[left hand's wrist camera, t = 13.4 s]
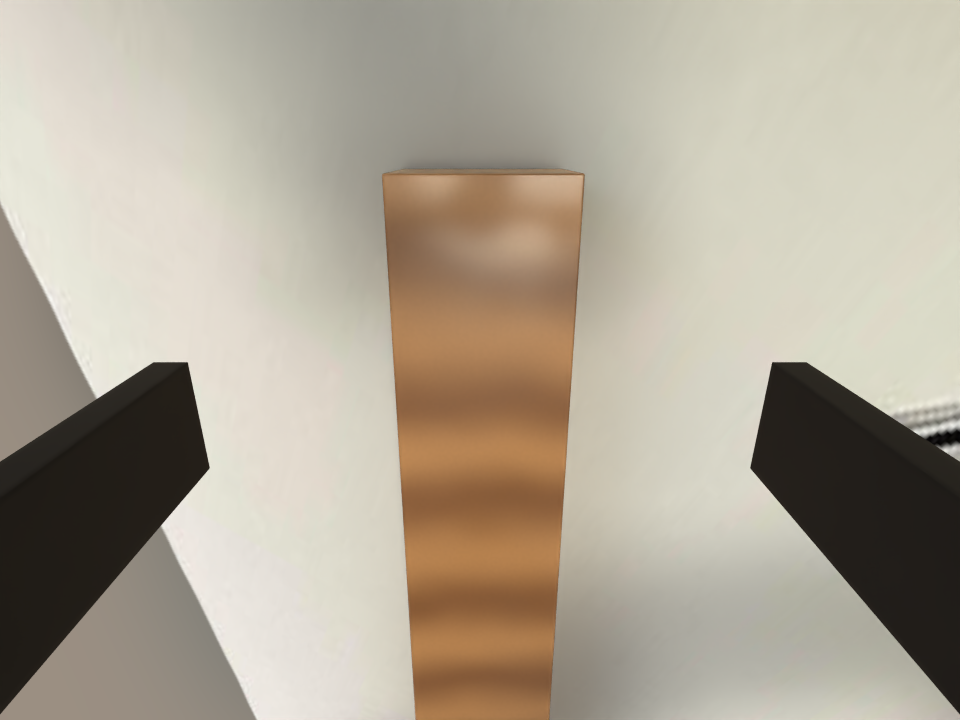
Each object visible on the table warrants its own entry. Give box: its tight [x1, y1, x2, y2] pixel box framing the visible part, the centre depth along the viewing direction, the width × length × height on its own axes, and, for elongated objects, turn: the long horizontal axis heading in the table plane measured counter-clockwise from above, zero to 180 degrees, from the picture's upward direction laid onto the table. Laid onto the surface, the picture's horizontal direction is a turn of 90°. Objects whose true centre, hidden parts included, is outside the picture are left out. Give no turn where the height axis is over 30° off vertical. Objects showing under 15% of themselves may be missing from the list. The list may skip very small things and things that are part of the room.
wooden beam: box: [382, 169, 585, 720], centre depth 40 cm, size 55×10×7 cm, turn 0°
